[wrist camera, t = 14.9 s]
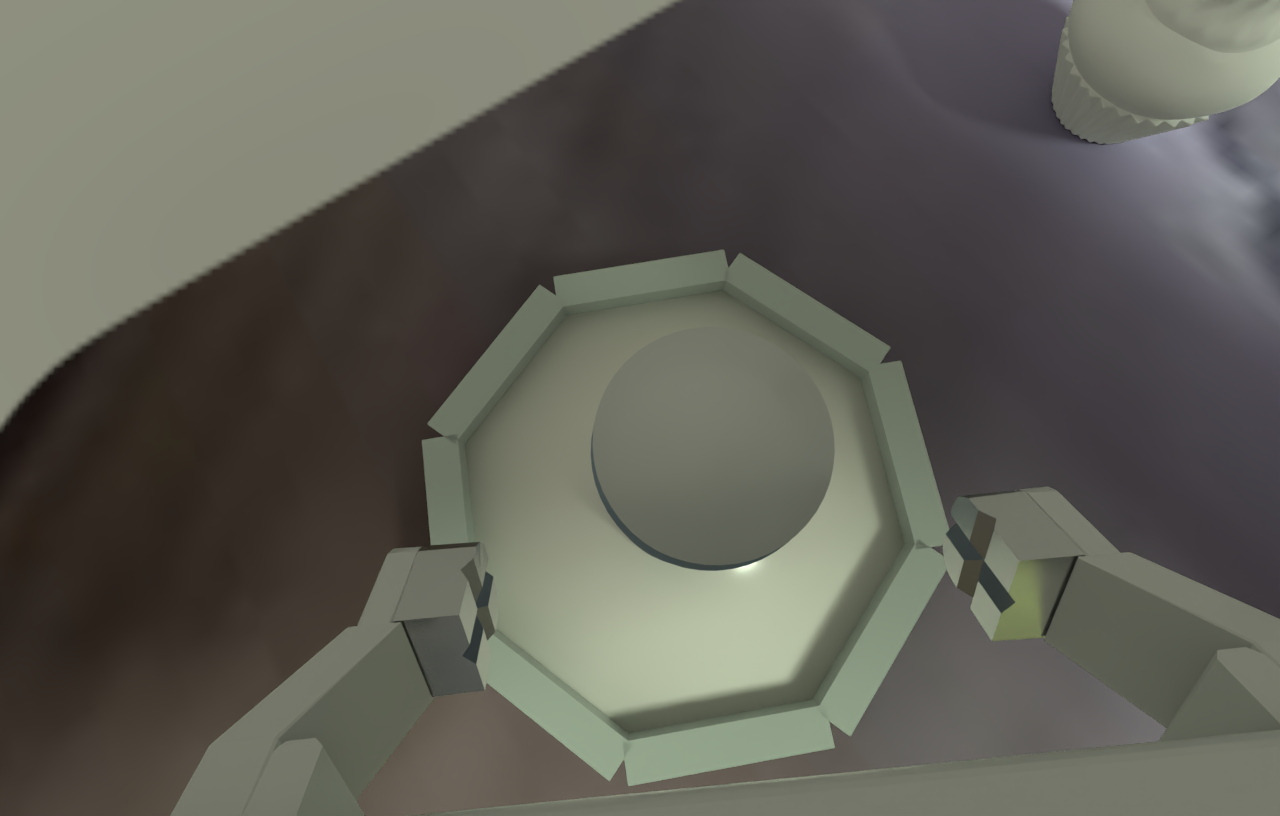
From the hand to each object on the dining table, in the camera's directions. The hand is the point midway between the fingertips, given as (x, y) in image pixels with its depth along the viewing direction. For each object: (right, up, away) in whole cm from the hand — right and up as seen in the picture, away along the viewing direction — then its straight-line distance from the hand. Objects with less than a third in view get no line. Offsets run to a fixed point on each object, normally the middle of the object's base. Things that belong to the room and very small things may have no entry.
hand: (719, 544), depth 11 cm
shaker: (0, 0, +7) cm, 7 cm away
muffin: (+15, +13, +11) cm, 22 cm away
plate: (0, 0, +8) cm, 8 cm away
